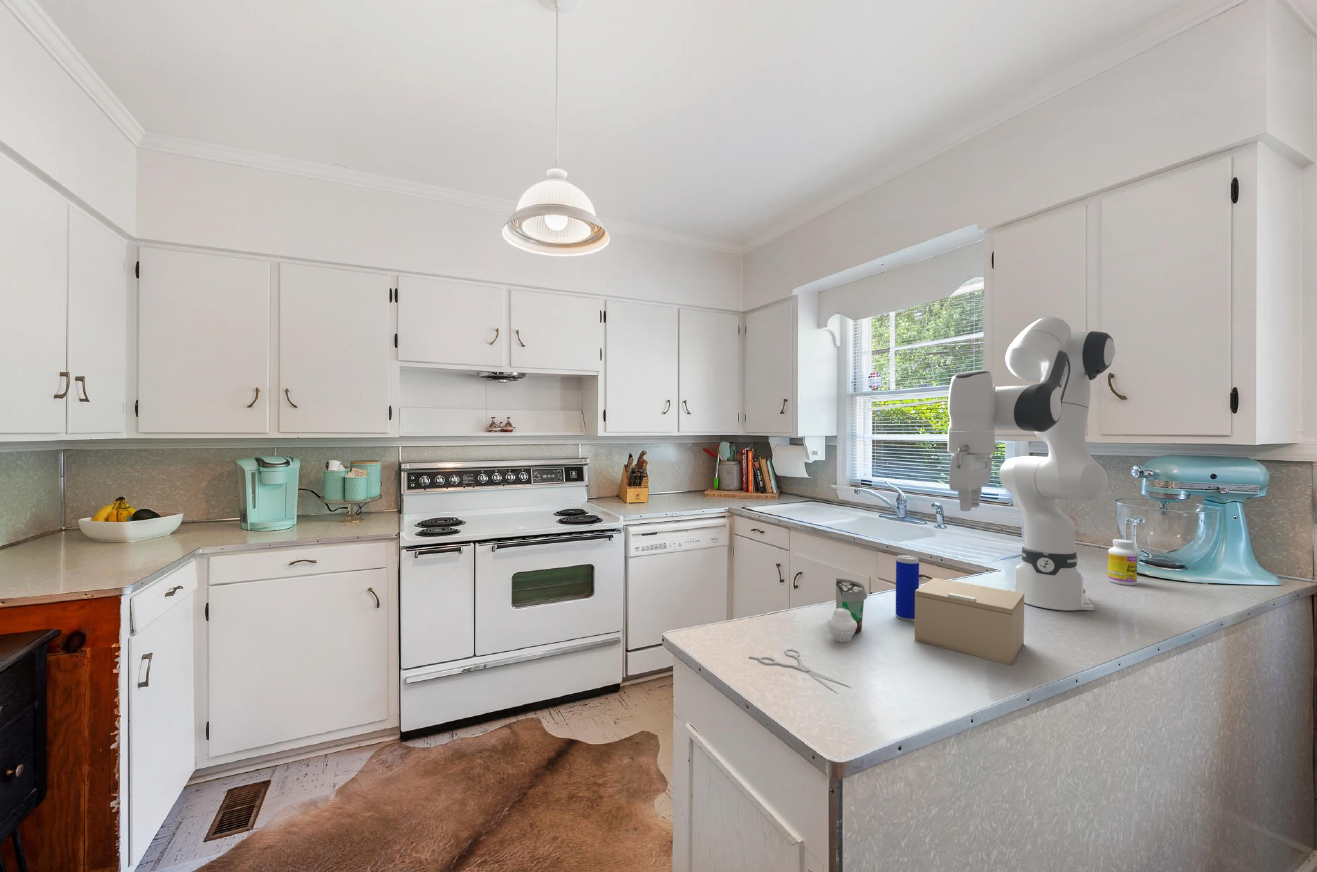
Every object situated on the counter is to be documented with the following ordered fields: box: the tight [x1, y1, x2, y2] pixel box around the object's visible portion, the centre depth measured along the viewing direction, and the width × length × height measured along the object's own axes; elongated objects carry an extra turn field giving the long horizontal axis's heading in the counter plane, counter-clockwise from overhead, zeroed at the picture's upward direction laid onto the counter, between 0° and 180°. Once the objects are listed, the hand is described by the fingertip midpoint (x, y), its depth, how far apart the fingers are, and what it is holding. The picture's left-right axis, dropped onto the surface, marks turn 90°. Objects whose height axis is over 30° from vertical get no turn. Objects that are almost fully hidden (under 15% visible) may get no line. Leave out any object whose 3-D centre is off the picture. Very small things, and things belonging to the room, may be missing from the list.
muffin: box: [827, 608, 857, 643], centre depth 119 cm, size 6×6×7 cm
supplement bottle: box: [1107, 538, 1138, 586], centre depth 163 cm, size 7×7×13 cm
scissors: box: [748, 648, 851, 695], centre depth 104 cm, size 11×1×20 cm
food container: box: [835, 578, 868, 635], centre depth 125 cm, size 12×6×10 cm, turn 168°
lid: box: [915, 577, 1024, 614], centre depth 117 cm, size 14×18×2 cm
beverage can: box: [895, 554, 920, 622], centre depth 133 cm, size 5×5×15 cm
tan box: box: [914, 595, 1025, 666], centre depth 117 cm, size 14×18×10 cm
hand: (970, 508), depth 117 cm, fingers open, 6 cm apart
